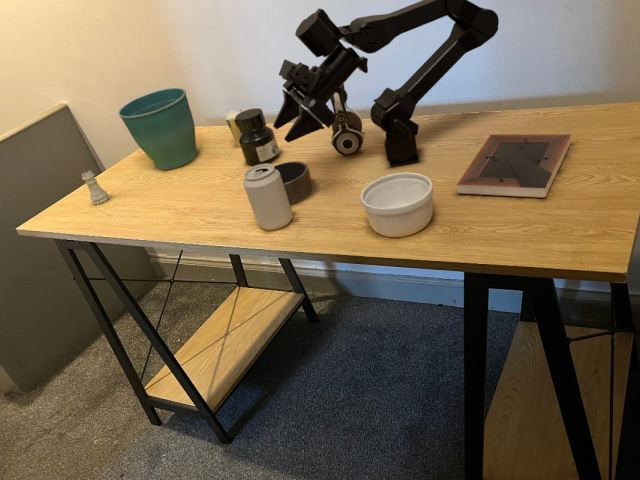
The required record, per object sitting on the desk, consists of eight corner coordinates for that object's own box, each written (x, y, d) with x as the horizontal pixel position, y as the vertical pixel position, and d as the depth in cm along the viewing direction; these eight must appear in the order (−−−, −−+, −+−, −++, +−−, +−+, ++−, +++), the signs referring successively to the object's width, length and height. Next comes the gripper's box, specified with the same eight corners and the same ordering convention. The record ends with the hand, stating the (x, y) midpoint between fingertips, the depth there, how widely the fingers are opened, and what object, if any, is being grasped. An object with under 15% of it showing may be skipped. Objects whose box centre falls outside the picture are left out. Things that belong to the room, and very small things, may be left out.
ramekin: (452, 218, 105) (447, 184, 101) (394, 250, 101) (387, 217, 97) (409, 196, 115) (403, 165, 111) (354, 225, 111) (346, 194, 107)
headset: (335, 136, 149) (315, 57, 137) (364, 129, 148) (347, 49, 136) (335, 164, 135) (313, 79, 123) (367, 157, 134) (348, 71, 122)
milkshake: (250, 146, 156) (238, 110, 151) (232, 148, 158) (219, 113, 152) (255, 138, 160) (243, 104, 154) (238, 141, 161) (225, 106, 156)
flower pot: (187, 175, 150) (160, 112, 140) (133, 178, 157) (103, 118, 147) (220, 144, 163) (197, 84, 153) (168, 148, 170) (144, 91, 160)
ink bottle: (270, 167, 142) (255, 121, 135) (240, 168, 146) (223, 123, 139) (286, 149, 149) (272, 104, 142) (257, 151, 152) (242, 107, 145)
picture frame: (545, 199, 103) (570, 144, 117) (545, 187, 102) (571, 133, 116) (457, 195, 111) (491, 144, 125) (456, 183, 110) (490, 133, 124)
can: (299, 212, 120) (283, 159, 113) (285, 232, 115) (267, 178, 108) (268, 213, 123) (250, 162, 116) (253, 232, 118) (233, 180, 111)
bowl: (316, 177, 132) (310, 157, 129) (310, 201, 123) (304, 180, 120) (269, 186, 134) (262, 166, 131) (261, 210, 125) (253, 190, 122)
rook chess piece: (94, 207, 147) (78, 179, 142) (92, 201, 150) (76, 173, 146) (111, 200, 148) (96, 172, 143) (108, 194, 151) (94, 166, 147)
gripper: (290, 36, 117) (240, 96, 119) (318, 53, 102) (260, 120, 104) (327, 75, 123) (279, 130, 126) (359, 95, 108) (303, 158, 111)
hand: (280, 134), depth 116 cm, fingers open, 9 cm apart
